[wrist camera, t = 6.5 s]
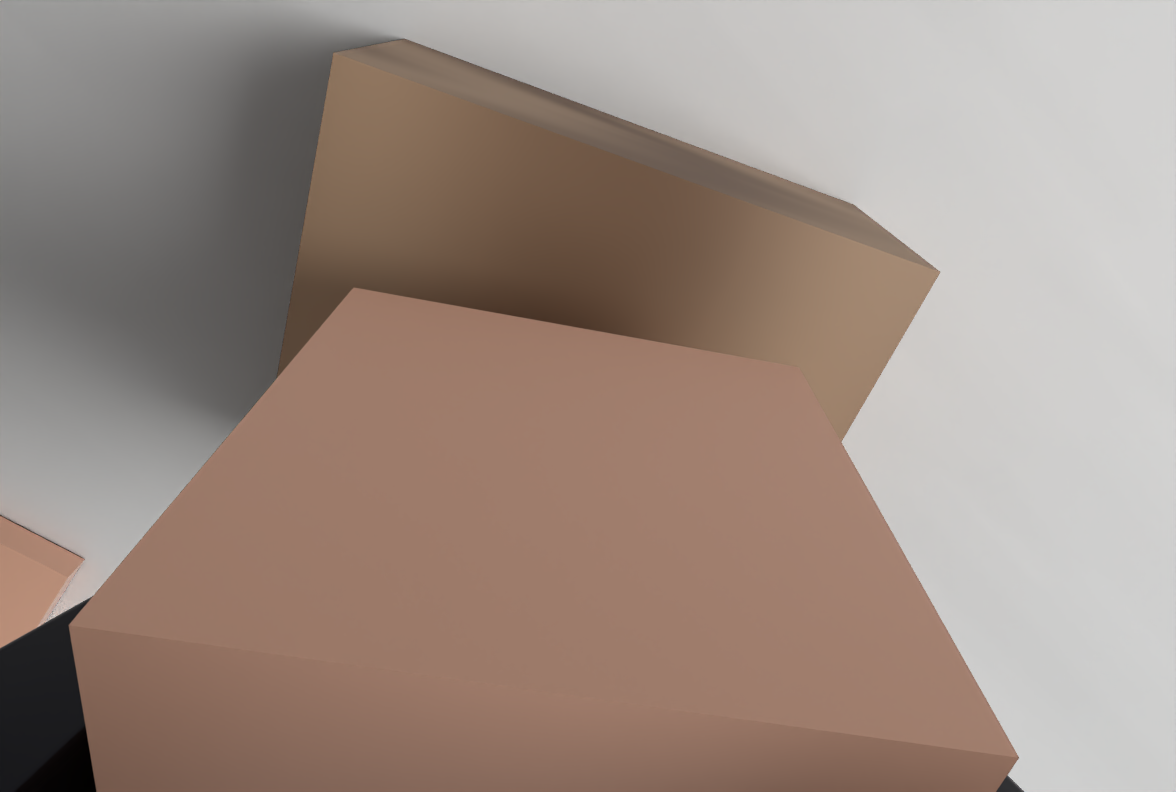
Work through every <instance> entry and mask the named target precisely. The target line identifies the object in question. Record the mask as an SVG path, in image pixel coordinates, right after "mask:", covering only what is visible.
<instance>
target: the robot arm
mask: <svg viewBox="0 0 1176 792" xmlns="http://www.w3.org/2000/svg"><path fill="white" fill-rule="evenodd" d="M92 597H93V596H92ZM92 597H90V598H89V599H87V600H85V601H83V602H81V603H80V604H78V605H76V606H74V607H73V608H71V609H69V610H67V611H65V612H64V613H62V614H60V615H58V616H56V617H55V618H53V619H51V620H49V621H48V622H46V623H44V624H42V625H40V626H39V627H37V628H35V629H33V630H31V631H30V632H28V633H26V634H24V635H23V636H21V637H19V638H17V639H15V640H14V641H12V642H10V643H8V644H6V645H5V646H3V647H1V648H0V792H96V786H95V780H94V774H93V768H92V762H91V756H90V750H89V744H88V738H87V732H86V726H85V720H84V714H83V708H82V702H81V696H80V690H79V684H78V678H77V672H76V666H75V660H74V655H73V649H72V643H71V637H70V631H69V624H70V623H71V622H72V621H73V619H74V618H75V617H76V616H77V615H78V614H79V612H80V611H81V610H82V609H83V608H84V606H85V605H86V604H87V603H88V602H89V600H90V599H91V598H92ZM996 792H1024V791H1023V790H1022V789H1021V788H1020V787H1019V786H1018V785H1017V784H1016V783H1015V782H1014V781H1013V780H1012V779H1011V778H1010V777H1009V776H1008V775H1007V776H1006V778H1005V779H1004V781H1003V782H1002V784H1001V785H1000V787H999V788H998V789H997V791H996Z"/></svg>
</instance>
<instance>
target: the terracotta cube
mask: <svg viewBox="0 0 1176 792" xmlns="http://www.w3.org/2000/svg"><path fill="white" fill-rule="evenodd" d="M69 631H70V637H71V643H72V649H73V655H74V660H75V666H76V672H77V678H78V684H79V690H80V696H81V702H82V708H83V714H84V720H85V726H86V732H87V738H88V744H89V750H90V756H91V762H92V768H93V774H94V780H95V786H96V792H996V791H997V789H998V788H999V787H1000V785H1001V784H1002V782H1003V781H1004V779H1005V778H1006V776H1007V775H1008V773H1009V772H1010V770H1011V769H1012V767H1013V766H1014V764H1015V763H1016V761H1017V760H1018V758H1019V757H1018V755H1017V753H1016V752H1015V750H1014V748H1013V746H1012V745H1011V743H1010V741H1009V739H1008V737H1007V736H1006V734H1005V732H1004V730H1003V729H1002V727H1001V725H1000V723H999V721H998V720H997V718H996V716H995V714H994V713H993V711H992V709H991V707H990V705H989V704H988V702H987V700H986V698H985V697H984V695H983V693H982V691H981V689H980V688H979V686H978V684H977V682H976V681H975V679H974V677H973V675H972V674H971V672H970V670H969V668H968V666H967V665H966V663H965V661H964V659H963V658H962V656H961V654H960V652H959V650H958V649H957V647H956V645H955V643H954V642H953V640H952V638H951V636H950V634H949V633H948V631H947V629H946V627H945V626H944V624H943V622H942V620H941V618H940V617H939V615H938V613H937V611H936V610H935V608H934V606H933V604H932V603H931V601H930V599H929V597H928V595H927V594H926V592H925V590H924V588H923V587H922V585H921V583H920V581H919V579H918V578H917V576H916V574H915V572H914V571H913V569H912V567H911V565H910V563H909V562H908V560H907V558H906V556H905V555H904V553H903V551H902V549H901V547H900V546H899V544H898V542H897V540H896V539H895V537H894V535H893V533H892V532H891V530H890V528H889V526H888V524H887V523H886V521H885V519H884V517H883V516H882V514H881V512H880V510H879V508H878V507H877V505H876V503H875V501H874V500H873V498H872V496H871V494H870V492H869V491H868V489H867V487H866V485H865V484H864V482H863V480H862V478H861V476H860V475H859V473H858V471H857V469H856V468H855V466H854V464H853V462H852V461H851V459H850V457H849V455H848V453H847V452H846V450H845V448H844V446H843V445H842V443H841V441H840V439H839V437H838V436H837V434H836V432H835V430H834V429H833V427H832V425H831V423H830V421H829V420H828V418H827V416H826V414H825V413H824V411H823V409H822V407H821V406H820V404H819V402H818V400H817V398H816V397H815V395H814V393H813V391H812V390H811V388H810V386H809V384H808V382H807V381H806V379H805V377H804V375H803V374H802V372H801V370H800V368H799V367H795V366H790V365H784V364H778V363H773V362H767V361H762V360H756V359H751V358H745V357H739V356H734V355H728V354H723V353H717V352H711V351H706V350H700V349H695V348H689V347H684V346H678V345H672V344H667V343H661V342H656V341H650V340H644V339H639V338H633V337H628V336H622V335H616V334H611V333H605V332H600V331H594V330H589V329H583V328H577V327H572V326H566V325H561V324H555V323H549V322H544V321H538V320H533V319H527V318H522V317H516V316H510V315H505V314H499V313H494V312H488V311H482V310H477V309H471V308H466V307H460V306H455V305H449V304H443V303H438V302H432V301H427V300H421V299H415V298H410V297H404V296H399V295H393V294H388V293H382V292H376V291H371V290H365V289H360V288H353V289H352V290H351V291H350V292H349V293H348V295H347V296H346V297H345V298H344V299H343V301H342V302H341V303H340V304H339V305H338V306H337V308H336V309H335V310H334V311H333V312H332V314H331V315H330V316H329V317H328V318H327V320H326V321H325V322H324V323H323V324H322V325H321V327H320V328H319V329H318V330H317V331H316V333H315V334H314V335H313V336H312V337H311V338H310V340H309V341H308V342H307V343H306V344H305V346H304V347H303V348H302V349H301V350H300V352H299V353H298V354H297V355H296V356H295V357H294V359H293V360H292V361H291V362H290V363H289V365H288V366H287V367H286V368H285V369H284V370H283V372H282V373H281V374H280V375H279V376H278V378H277V379H276V380H275V381H274V382H273V384H272V385H271V386H270V387H269V388H268V389H267V391H266V392H265V393H264V394H263V395H262V397H261V398H260V399H259V400H258V401H257V402H256V404H255V405H254V406H253V407H252V408H251V410H250V411H249V412H248V413H247V414H246V416H245V417H244V418H243V419H242V420H241V421H240V423H239V424H238V425H237V426H236V427H235V429H234V430H233V431H232V432H231V433H230V435H229V436H228V437H227V438H226V439H225V440H224V442H223V443H222V444H221V445H220V446H219V448H218V449H217V450H216V451H215V452H214V453H213V455H212V456H211V457H210V458H209V459H208V461H207V462H206V463H205V464H204V465H203V467H202V468H201V469H200V470H199V471H198V472H197V474H196V475H195V476H194V477H193V478H192V480H191V481H190V482H189V483H188V484H187V485H186V487H185V488H184V489H183V490H182V491H181V493H180V494H179V495H178V496H177V497H176V499H175V500H174V501H173V502H172V503H171V504H170V506H169V507H168V508H167V509H166V510H165V512H164V513H163V514H162V515H161V516H160V517H159V519H158V520H157V521H156V522H155V523H154V525H153V526H152V527H151V528H150V529H149V531H148V532H147V533H146V534H145V535H144V536H143V538H142V539H141V540H140V541H139V542H138V544H137V545H136V546H135V547H134V548H133V549H132V551H131V552H130V553H129V554H128V555H127V557H126V558H125V559H124V560H123V561H122V563H121V564H120V565H119V566H118V567H117V568H116V570H115V571H114V572H113V573H112V574H111V576H110V577H109V578H108V579H107V580H106V582H105V583H104V584H103V585H102V586H101V587H100V589H99V590H98V591H97V592H96V593H95V595H94V596H93V597H92V598H91V599H90V600H89V602H88V603H87V604H86V605H85V606H84V608H83V609H82V610H81V611H80V612H79V614H78V615H77V616H76V617H75V618H74V619H73V621H72V622H71V623H70V624H69Z"/></svg>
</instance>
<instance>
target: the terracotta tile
mask: <svg viewBox="0 0 1176 792" xmlns="http://www.w3.org/2000/svg"><path fill="white" fill-rule="evenodd" d="M84 560H85V559H83V558H81V557H79V556H77V555H75V554H73V553H71V552H69V551H67V550H65V549H63V548H61V547H60V546H58V545H56V544H54V543H52V542H50V541H48V540H46V539H44V538H42V537H40V536H38V535H36V534H34V533H32V532H30V531H28V530H27V529H25V528H23V527H21V526H19V525H17V524H15V523H13V522H11V521H9V520H7V519H5V518H3V517H1V516H0V648H1V647H3V646H5V645H6V644H8V643H10V642H12V641H14V640H15V639H17V638H19V637H21V636H23V635H24V634H26V633H28V632H30V631H31V630H33V629H35V628H37V627H39V626H40V625H42V624H44V623H45V621H46V620H47V618H48V617H49V615H50V613H51V612H52V610H53V609H54V607H55V606H56V604H57V602H58V601H59V599H60V598H61V596H62V594H63V593H64V591H65V590H66V588H67V587H68V585H69V583H70V582H71V580H72V579H73V577H74V575H75V574H76V572H77V571H78V569H79V568H80V566H81V564H82V563H83V561H84Z"/></svg>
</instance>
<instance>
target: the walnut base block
mask: <svg viewBox="0 0 1176 792" xmlns="http://www.w3.org/2000/svg"><path fill="white" fill-rule="evenodd" d="M939 274H940V271H938V270H937V269H936V268H934V267H933V266H932V265H931V264H929V263H928V262H927V261H925V260H924V259H923V258H922V257H920V256H919V255H918V254H916V253H915V252H914V251H913V250H911V249H910V248H909V247H907V246H906V245H905V244H904V243H902V242H901V241H900V240H898V239H897V238H896V237H895V236H893V235H892V234H891V233H889V232H888V231H887V230H886V229H884V228H883V227H882V226H880V225H879V224H878V223H877V222H875V221H874V220H873V219H871V218H870V217H869V216H868V215H866V214H865V213H864V212H862V211H861V210H860V209H859V208H857V207H856V206H855V205H853V204H850V203H847V202H845V201H842V200H839V199H837V198H834V197H831V196H828V195H826V194H823V193H820V192H818V191H815V190H812V189H810V188H807V187H804V186H801V185H799V184H796V183H793V182H791V181H788V180H785V179H782V178H780V177H777V176H774V175H772V174H769V173H766V172H764V171H761V170H758V169H755V168H753V167H750V166H747V165H745V164H742V163H739V162H736V161H734V160H731V159H728V158H726V157H723V156H720V155H718V154H715V153H712V152H709V151H707V150H704V149H701V148H699V147H696V146H693V145H690V144H688V143H685V142H682V141H680V140H677V139H674V138H672V137H669V136H666V135H663V134H661V133H658V132H655V131H653V130H650V129H647V128H644V127H642V126H639V125H636V124H634V123H631V122H628V121H626V120H623V119H620V118H617V117H615V116H612V115H609V114H607V113H604V112H601V111H598V110H596V109H593V108H590V107H588V106H585V105H582V104H580V103H577V102H574V101H571V100H569V99H566V98H563V97H561V96H558V95H555V94H552V93H550V92H547V91H544V90H542V89H539V88H536V87H534V86H531V85H528V84H525V83H523V82H520V81H517V80H515V79H512V78H509V77H506V76H504V75H501V74H498V73H496V72H493V71H490V70H488V69H485V68H482V67H479V66H477V65H474V64H471V63H469V62H466V61H463V60H460V59H458V58H455V57H452V56H450V55H447V54H444V53H442V52H439V51H436V50H433V49H431V48H428V47H425V46H423V45H420V44H417V43H414V42H412V41H409V40H406V39H401V40H396V41H391V42H386V43H380V44H375V45H370V46H365V47H360V48H355V49H349V50H344V51H339V52H334V53H333V58H332V64H331V70H330V75H329V81H328V87H327V93H326V98H325V104H324V110H323V115H322V121H321V127H320V133H319V138H318V144H317V150H316V155H315V161H314V167H313V173H312V178H311V184H310V190H309V196H308V201H307V207H306V213H305V218H304V224H303V230H302V236H301V241H300V247H299V253H298V259H297V264H296V270H295V276H294V281H293V287H292V293H291V299H290V304H289V310H288V316H287V322H286V327H285V333H284V339H283V344H282V350H281V356H280V362H279V367H278V373H277V378H278V376H279V375H280V374H281V373H282V372H283V370H284V369H285V368H286V367H287V366H288V365H289V363H290V362H291V361H292V360H293V359H294V357H295V356H296V355H297V354H298V353H299V352H300V350H301V349H302V348H303V347H304V346H305V344H306V343H307V342H308V341H309V340H310V338H311V337H312V336H313V335H314V334H315V333H316V331H317V330H318V329H319V328H320V327H321V325H322V324H323V323H324V322H325V321H326V320H327V318H328V317H329V316H330V315H331V314H332V312H333V311H334V310H335V309H336V308H337V306H338V305H339V304H340V303H341V302H342V301H343V299H344V298H345V297H346V296H347V295H348V293H349V292H350V291H351V290H352V289H353V288H360V289H365V290H371V291H376V292H382V293H388V294H393V295H399V296H404V297H410V298H415V299H421V300H427V301H432V302H438V303H443V304H449V305H455V306H460V307H466V308H471V309H477V310H482V311H488V312H494V313H499V314H505V315H510V316H516V317H522V318H527V319H533V320H538V321H544V322H549V323H555V324H561V325H566V326H572V327H577V328H583V329H589V330H594V331H600V332H605V333H611V334H616V335H622V336H628V337H633V338H639V339H644V340H650V341H656V342H661V343H667V344H672V345H678V346H684V347H689V348H695V349H700V350H706V351H711V352H717V353H723V354H728V355H734V356H739V357H745V358H751V359H756V360H762V361H767V362H773V363H778V364H784V365H790V366H795V367H799V368H800V370H801V372H802V374H803V375H804V377H805V379H806V381H807V382H808V384H809V386H810V388H811V390H812V391H813V393H814V395H815V397H816V398H817V400H818V402H819V404H820V406H821V407H822V409H823V411H824V413H825V414H826V416H827V418H828V420H829V421H830V423H831V425H832V427H833V429H834V430H835V432H836V434H837V436H838V437H839V439H840V441H841V442H842V440H843V438H844V436H845V435H846V433H847V431H848V430H849V428H850V426H851V424H852V423H853V421H854V419H855V418H856V416H857V414H858V412H859V411H860V409H861V407H862V406H863V404H864V402H865V400H866V399H867V397H868V395H869V394H870V392H871V390H872V388H873V387H874V385H875V383H876V382H877V380H878V378H879V376H880V375H881V373H882V371H883V370H884V368H885V366H886V364H887V363H888V361H889V359H890V358H891V356H892V354H893V352H894V351H895V349H896V347H897V346H898V344H899V342H900V340H901V339H902V337H903V335H904V334H905V332H906V330H907V328H908V327H909V325H910V323H911V322H912V320H913V318H914V316H915V315H916V313H917V311H918V310H919V308H920V306H921V304H922V303H923V301H924V299H925V298H926V296H927V294H928V292H929V291H930V289H931V287H932V286H933V284H934V282H935V280H936V279H937V277H938V275H939Z"/></svg>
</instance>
